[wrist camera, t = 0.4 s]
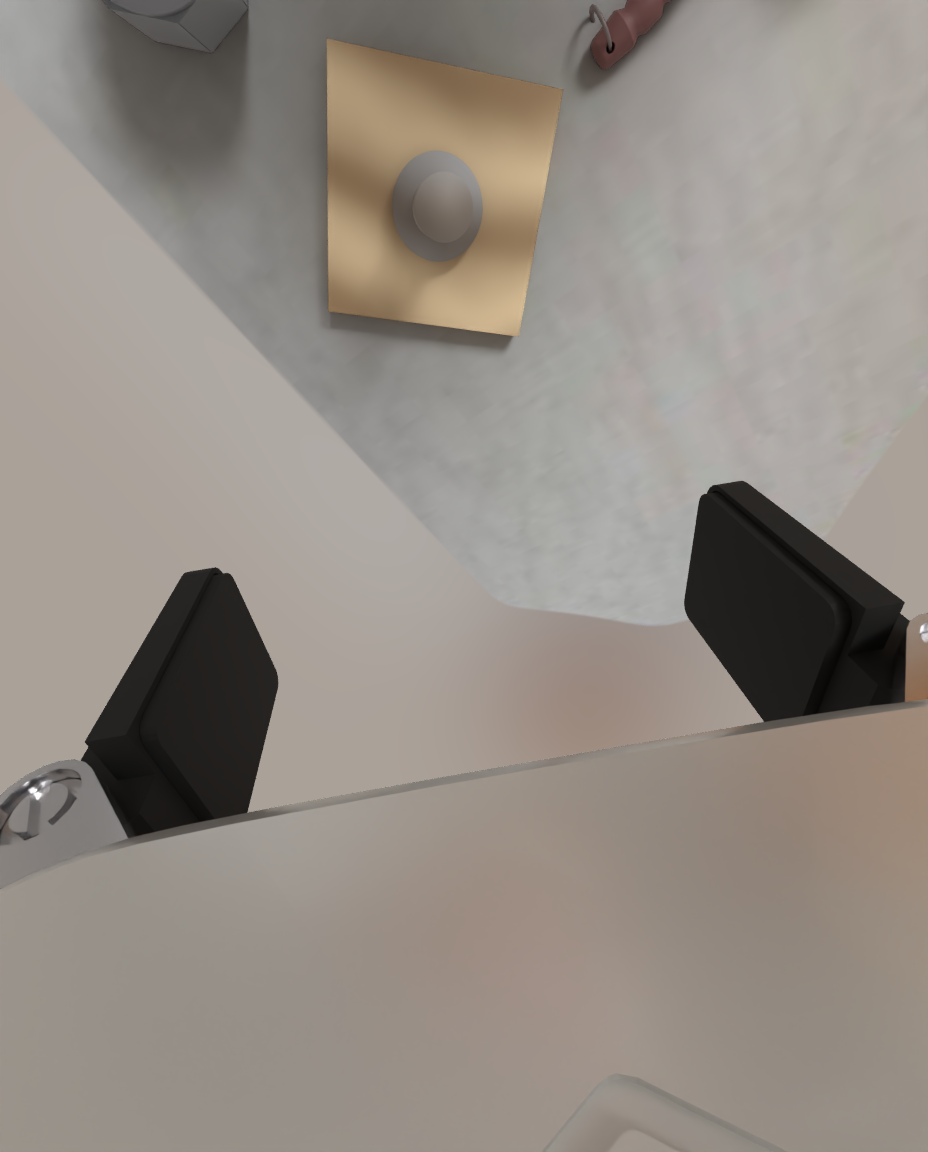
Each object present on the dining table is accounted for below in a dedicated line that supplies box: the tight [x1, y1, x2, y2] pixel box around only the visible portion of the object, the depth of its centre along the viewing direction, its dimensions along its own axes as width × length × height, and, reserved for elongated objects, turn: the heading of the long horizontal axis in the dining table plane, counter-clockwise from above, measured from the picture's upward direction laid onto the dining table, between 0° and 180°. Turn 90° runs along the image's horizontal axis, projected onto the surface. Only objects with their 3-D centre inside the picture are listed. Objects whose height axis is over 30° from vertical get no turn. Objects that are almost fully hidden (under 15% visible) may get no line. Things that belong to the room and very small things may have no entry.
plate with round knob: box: [327, 39, 563, 336], centre depth 28 cm, size 12×12×7 cm
